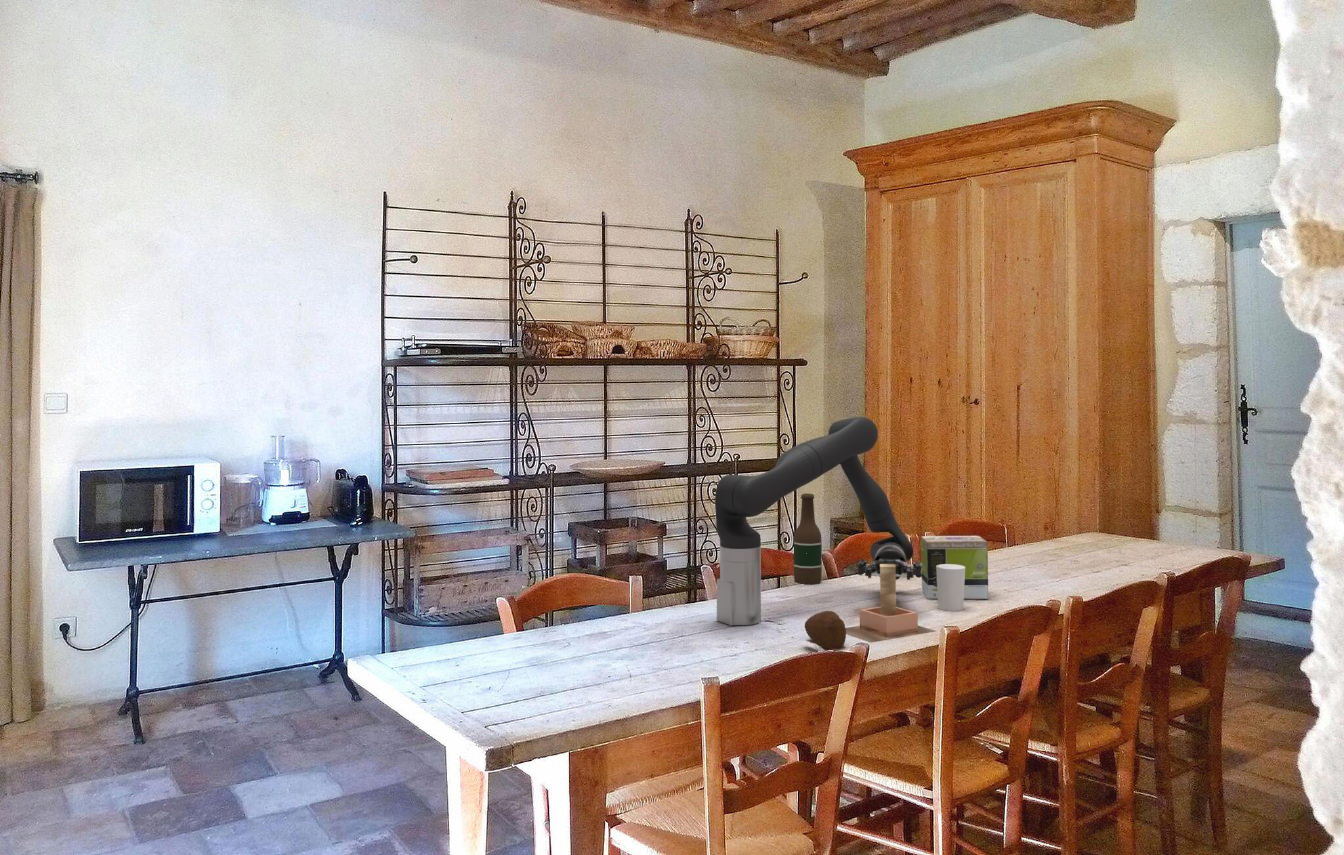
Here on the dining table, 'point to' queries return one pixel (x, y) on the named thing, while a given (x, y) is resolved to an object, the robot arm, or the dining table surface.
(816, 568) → the beer bottle
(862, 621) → the pink open tray
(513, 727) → the dining table surface
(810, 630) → the potato
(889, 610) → the tan cylinder
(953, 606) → the white upright cylinder
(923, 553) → the tea box
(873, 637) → the board
